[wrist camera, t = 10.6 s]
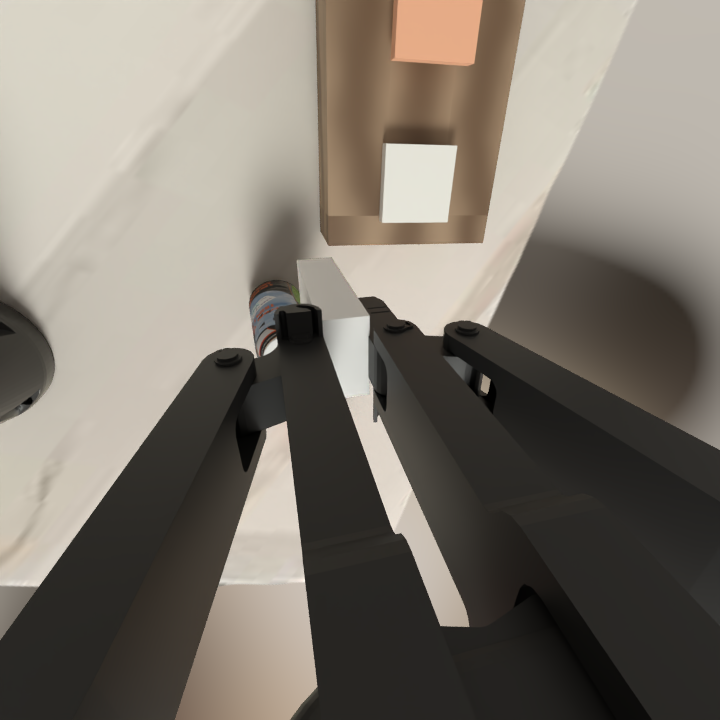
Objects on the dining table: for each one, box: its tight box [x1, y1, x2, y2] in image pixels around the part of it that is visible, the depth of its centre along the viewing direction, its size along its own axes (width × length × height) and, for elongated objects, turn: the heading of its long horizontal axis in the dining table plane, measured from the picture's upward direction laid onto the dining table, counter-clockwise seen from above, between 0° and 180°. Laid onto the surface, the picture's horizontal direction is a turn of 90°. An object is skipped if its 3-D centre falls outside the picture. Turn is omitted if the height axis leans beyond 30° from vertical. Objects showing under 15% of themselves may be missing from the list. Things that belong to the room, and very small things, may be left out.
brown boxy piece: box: [316, 0, 525, 246], centre depth 36 cm, size 16×23×7 cm
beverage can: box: [249, 280, 301, 357], centre depth 42 cm, size 6×7×12 cm
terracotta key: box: [391, 0, 483, 66], centre depth 32 cm, size 6×6×8 cm
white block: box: [379, 143, 457, 223], centre depth 39 cm, size 6×6×8 cm
